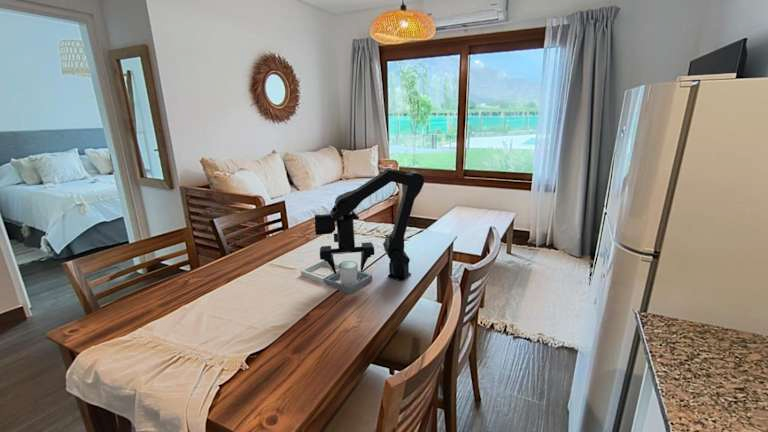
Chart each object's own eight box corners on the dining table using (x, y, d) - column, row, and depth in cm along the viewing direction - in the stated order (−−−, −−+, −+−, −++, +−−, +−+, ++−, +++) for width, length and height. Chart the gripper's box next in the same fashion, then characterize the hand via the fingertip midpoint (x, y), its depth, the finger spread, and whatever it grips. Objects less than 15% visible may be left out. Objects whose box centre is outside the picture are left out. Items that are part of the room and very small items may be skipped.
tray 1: (345, 271, 134) (345, 266, 133) (323, 283, 124) (322, 278, 124) (324, 263, 140) (323, 259, 140) (301, 275, 131) (300, 270, 131)
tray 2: (372, 279, 126) (372, 274, 126) (350, 294, 117) (350, 288, 116) (347, 271, 133) (347, 267, 132) (325, 284, 124) (324, 279, 123)
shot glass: (357, 286, 122) (356, 268, 119) (338, 287, 122) (336, 269, 120) (359, 277, 128) (358, 260, 126) (341, 277, 128) (340, 260, 126)
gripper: (370, 222, 128) (371, 261, 133) (318, 226, 126) (322, 265, 130) (373, 232, 118) (375, 274, 122) (318, 237, 115) (322, 279, 120)
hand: (348, 272), depth 124 cm, fingers open, 9 cm apart
